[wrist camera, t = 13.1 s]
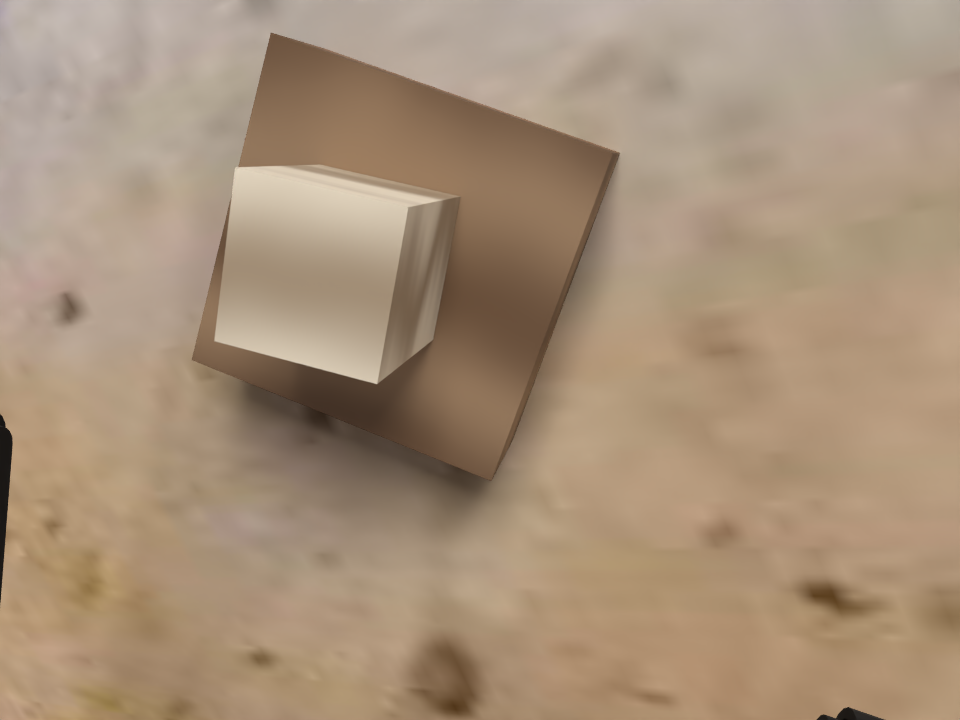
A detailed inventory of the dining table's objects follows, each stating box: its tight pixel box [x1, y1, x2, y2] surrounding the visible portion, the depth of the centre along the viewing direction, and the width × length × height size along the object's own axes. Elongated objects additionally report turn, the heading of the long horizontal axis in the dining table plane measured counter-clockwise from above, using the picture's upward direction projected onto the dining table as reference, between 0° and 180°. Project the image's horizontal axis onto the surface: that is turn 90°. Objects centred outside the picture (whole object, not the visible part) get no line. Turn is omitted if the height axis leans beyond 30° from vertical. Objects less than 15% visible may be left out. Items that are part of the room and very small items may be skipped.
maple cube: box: [214, 165, 461, 384], centre depth 27 cm, size 5×5×6 cm
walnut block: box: [192, 33, 620, 481], centre depth 32 cm, size 12×12×5 cm
